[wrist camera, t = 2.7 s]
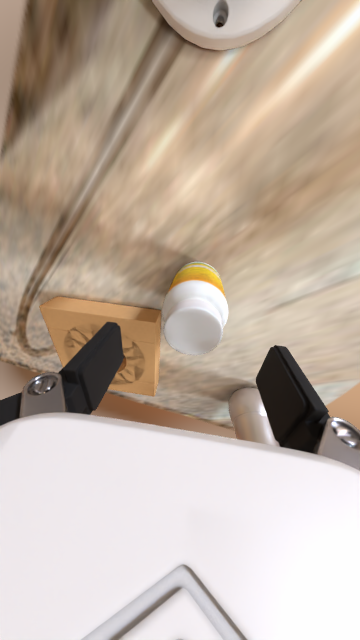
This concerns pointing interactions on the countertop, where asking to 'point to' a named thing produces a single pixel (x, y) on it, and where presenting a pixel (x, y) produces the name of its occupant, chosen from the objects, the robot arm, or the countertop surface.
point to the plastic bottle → (250, 417)
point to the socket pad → (136, 332)
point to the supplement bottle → (195, 310)
